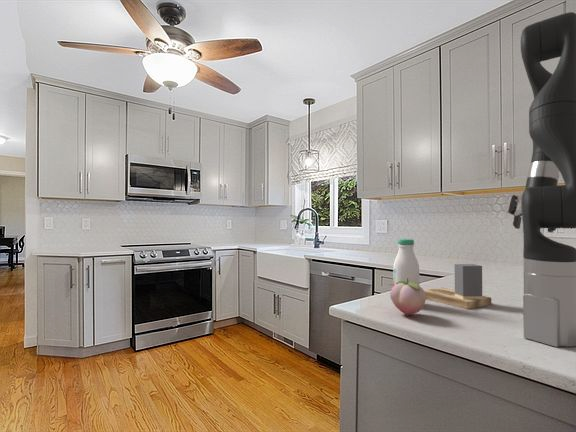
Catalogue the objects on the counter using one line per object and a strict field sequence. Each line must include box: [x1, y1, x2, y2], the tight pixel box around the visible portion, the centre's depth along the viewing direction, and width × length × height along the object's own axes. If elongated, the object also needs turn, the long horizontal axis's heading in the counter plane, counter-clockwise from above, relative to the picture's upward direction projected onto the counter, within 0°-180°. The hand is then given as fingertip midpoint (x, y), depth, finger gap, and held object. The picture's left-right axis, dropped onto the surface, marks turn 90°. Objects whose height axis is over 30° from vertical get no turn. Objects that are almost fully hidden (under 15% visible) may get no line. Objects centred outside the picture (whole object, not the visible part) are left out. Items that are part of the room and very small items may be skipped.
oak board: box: [423, 287, 492, 310], centre depth 104 cm, size 12×17×2 cm
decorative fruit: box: [389, 278, 427, 316], centre depth 88 cm, size 9×8×10 cm
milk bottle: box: [392, 238, 421, 288], centre depth 100 cm, size 8×8×20 cm
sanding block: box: [454, 263, 483, 299], centre depth 100 cm, size 6×4×10 cm
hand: (533, 230), depth 98 cm, fingers open, 8 cm apart
